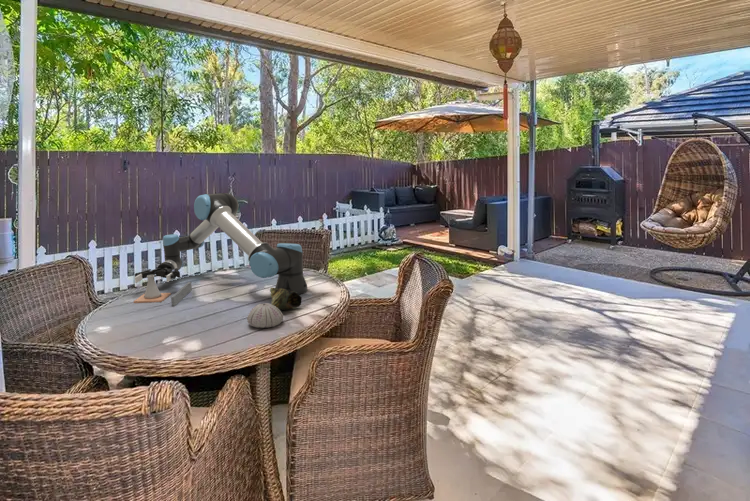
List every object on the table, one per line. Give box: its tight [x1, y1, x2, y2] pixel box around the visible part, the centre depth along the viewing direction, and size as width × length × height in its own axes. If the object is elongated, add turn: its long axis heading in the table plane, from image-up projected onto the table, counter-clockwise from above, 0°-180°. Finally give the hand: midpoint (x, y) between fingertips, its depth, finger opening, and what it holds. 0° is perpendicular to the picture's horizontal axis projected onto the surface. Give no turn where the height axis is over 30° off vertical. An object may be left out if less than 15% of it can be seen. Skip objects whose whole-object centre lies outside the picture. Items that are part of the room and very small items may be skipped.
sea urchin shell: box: [246, 302, 284, 329], centre depth 169 cm, size 13×14×8 cm
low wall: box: [170, 281, 193, 307], centre depth 204 cm, size 26×1×4 cm, turn 7°
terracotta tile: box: [132, 292, 172, 304], centre depth 203 cm, size 12×12×1 cm
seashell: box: [269, 287, 303, 311], centre depth 184 cm, size 11×11×10 cm
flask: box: [143, 275, 162, 299], centre depth 202 cm, size 7×7×10 cm
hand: (151, 279), depth 203 cm, fingers open, 13 cm apart
